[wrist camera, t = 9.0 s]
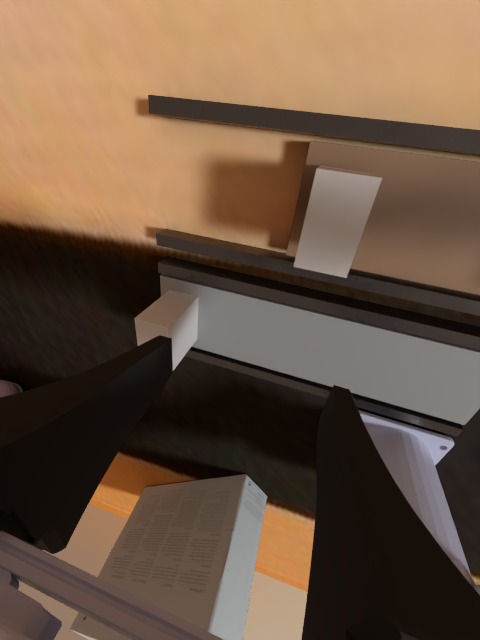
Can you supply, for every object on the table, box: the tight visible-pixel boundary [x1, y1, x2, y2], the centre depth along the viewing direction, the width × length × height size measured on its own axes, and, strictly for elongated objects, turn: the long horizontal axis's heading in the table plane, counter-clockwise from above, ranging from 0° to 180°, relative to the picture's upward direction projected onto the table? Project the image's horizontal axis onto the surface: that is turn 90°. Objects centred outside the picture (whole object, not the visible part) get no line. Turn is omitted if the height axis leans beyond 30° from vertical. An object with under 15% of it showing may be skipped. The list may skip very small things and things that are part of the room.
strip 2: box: [135, 274, 480, 425], centre depth 18 cm, size 6×24×6 cm, turn 83°
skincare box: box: [70, 474, 267, 640], centre depth 32 cm, size 21×5×16 cm, turn 126°
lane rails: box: [148, 95, 480, 436], centre depth 18 cm, size 18×24×1 cm
